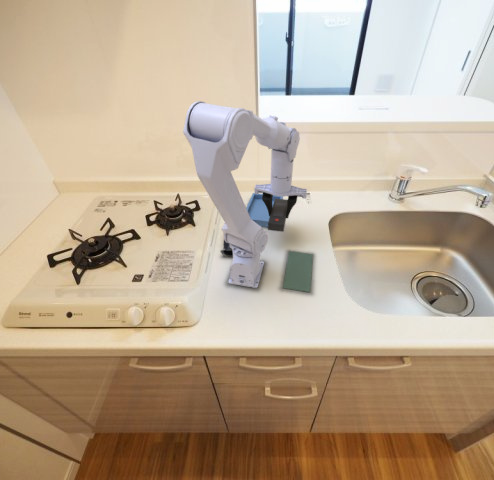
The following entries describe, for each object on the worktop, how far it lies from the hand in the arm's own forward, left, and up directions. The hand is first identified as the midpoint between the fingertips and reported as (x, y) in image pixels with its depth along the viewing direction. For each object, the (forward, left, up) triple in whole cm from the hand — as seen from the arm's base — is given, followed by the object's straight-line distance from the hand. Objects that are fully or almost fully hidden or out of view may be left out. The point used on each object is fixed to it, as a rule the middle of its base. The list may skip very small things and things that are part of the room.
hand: (279, 215), depth 78 cm
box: (+12, +7, -8) cm, 17 cm away
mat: (-13, -8, -8) cm, 18 cm away
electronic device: (-4, +12, -9) cm, 15 cm away
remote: (0, 0, -1) cm, 1 cm away
